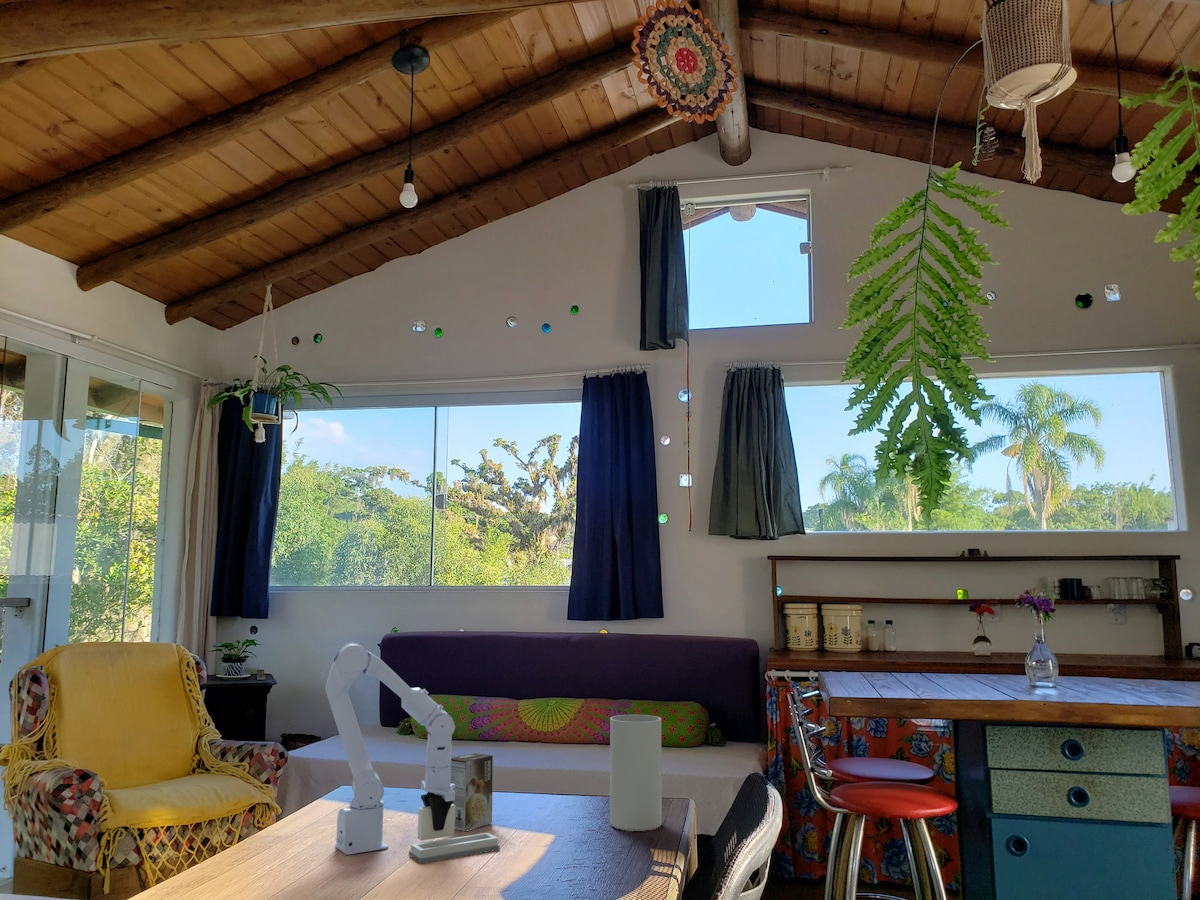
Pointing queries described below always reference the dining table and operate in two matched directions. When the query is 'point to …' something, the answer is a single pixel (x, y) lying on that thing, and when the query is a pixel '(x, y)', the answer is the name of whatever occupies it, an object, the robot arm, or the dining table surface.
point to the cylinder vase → (635, 772)
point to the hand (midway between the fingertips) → (436, 828)
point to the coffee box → (472, 790)
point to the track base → (453, 847)
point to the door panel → (427, 824)
